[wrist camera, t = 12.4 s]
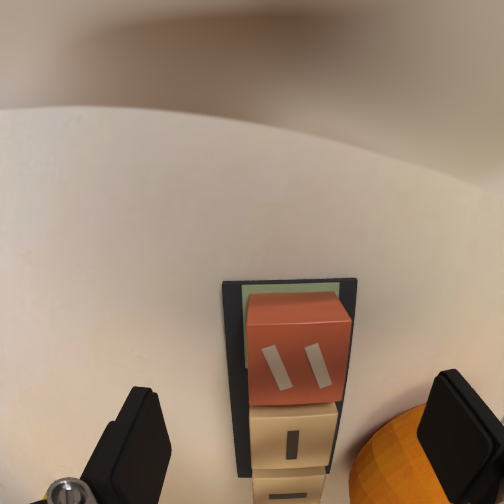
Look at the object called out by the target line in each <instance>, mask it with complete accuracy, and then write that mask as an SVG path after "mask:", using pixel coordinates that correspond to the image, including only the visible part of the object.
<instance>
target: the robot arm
mask: <svg viewBox="0 0 504 504" xmlns="http://www.w3.org/2000/svg"><path fill="white" fill-rule="evenodd" d="M416 434H417V439H418V441H419V443H420V445H421V447H422V448H423V450H424V452H425V454H426V456H427V458H428V460H429V462H430V464H431V466H432V468H433V470H434V472H435V474H436V476H437V478H438V480H439V483H440V485H441V487H442V489H443V491H444V493H445V495H446V497H447V499H448V501H449V502H450V503H453V504H468V503H470V504H504V426H503V425H502V424H501V422H500V421H499V420H498V419H497V417H496V416H495V415H494V414H493V412H492V411H491V410H490V409H489V407H488V406H487V405H486V404H485V402H484V401H483V400H482V399H481V398H480V396H479V395H478V394H477V393H476V392H475V390H474V389H473V388H472V387H471V386H470V385H469V383H468V382H467V381H466V380H465V379H464V378H463V376H462V375H461V374H460V373H459V372H458V371H457V370H456V369H450V370H445V371H441V372H440V373H439V374H438V376H437V377H435V379H434V382H433V385H432V388H431V391H430V395H429V398H428V400H427V403H426V406H425V409H424V412H423V415H422V417H421V420H420V423H419V425H418V428H417V432H416ZM171 451H172V449H171V443H170V440H169V436H168V433H167V429H166V425H165V422H164V418H163V414H162V410H161V406H160V402H159V398H158V395H157V393H155V392H152V389H151V388H146V387H136V386H134V387H133V388H132V389H131V391H130V393H129V395H128V397H127V399H126V401H125V403H124V405H123V407H122V408H121V410H120V412H119V414H118V416H117V418H116V420H115V421H111V422H109V423H108V425H107V427H106V428H105V430H104V432H103V434H102V436H101V438H100V440H99V442H98V444H97V446H96V448H95V450H94V452H93V453H92V455H91V457H90V459H89V461H88V463H87V465H86V467H85V469H84V471H83V473H82V475H81V477H80V479H77V478H71V477H67V478H61V479H59V480H57V481H55V482H54V483H52V484H51V485H50V487H49V488H48V490H47V494H46V497H47V499H44V500H41V501H37V502H34V503H31V504H158V501H159V497H160V494H161V490H162V486H163V483H164V479H165V475H166V471H167V468H168V464H169V460H170V457H171Z"/></svg>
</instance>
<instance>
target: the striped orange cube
mask: <svg viewBox="0 0 504 504" xmlns="http://www.w3.org/2000/svg"><path fill="white" fill-rule="evenodd" d="M351 324H352V320H351V319H350V317H349V315H348V314H347V312H346V310H345V309H344V307H343V305H342V304H341V302H340V300H339V299H338V297H337V295H336V294H335V292H334V291H330V292H302V293H264V294H249V299H248V309H247V320H246V339H247V363H248V386H249V404H250V405H251V406H255V405H292V404H310V403H324V402H335V401H341V400H342V395H343V388H344V381H345V374H346V367H347V359H348V351H349V342H350V333H351Z"/></svg>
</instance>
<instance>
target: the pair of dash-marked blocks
mask: <svg viewBox="0 0 504 504" xmlns="http://www.w3.org/2000/svg"><path fill="white" fill-rule="evenodd" d="M337 418H338V412H337V408H336V405H335V402H324V403H310V404H292V405H255V406H251V405H250V411H249V426H250V446H251V466H252V469H253V470H252V484H253V503H254V504H319V503H320V499H321V495H322V490H323V486H324V482H325V478H326V472H325V466H327V465H328V464H329V460H330V455H331V450H332V445H333V440H334V434H335V429H336V423H337Z"/></svg>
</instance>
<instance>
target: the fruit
mask: <svg viewBox="0 0 504 504" xmlns="http://www.w3.org/2000/svg"><path fill="white" fill-rule="evenodd" d="M425 406H426V404H423V405H420V406H418V407H415V408H412V409H410V410H408V411H407V412H405V413H403V414H401V415H399V416H398V417H396V418H394V419H392V420H391V421H390V422H389V423H387V424H386V425H385V426H384V427H382V428H381V429H380V430H378V431H377V432H376V433H375V434H374V435H373V436H372V437H371V439H370V440H369V441H368V442H367V443H366V444H365V445H364V447H363V448H362V449H361V450H360V452H359V453H358V456H357V458H356V460H355V462H354V464H353V466H352V469H351V471H350V475H349V497H350V504H453V503H450V502H449V501H448V499H447V497H446V495H445V493H444V491H443V489H442V487H441V485H440V483H439V480H438V478H437V476H436V474H435V472H434V470H433V468H432V466H431V464H430V462H429V460H428V458H427V456H426V454H425V452H424V450H423V448H422V447H421V445H420V443H419V441H418V439H417V434H416V432H417V428H418V425H419V423H420V420H421V417H422V415H423V412H424V409H425ZM468 504H470V503H468Z"/></svg>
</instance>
